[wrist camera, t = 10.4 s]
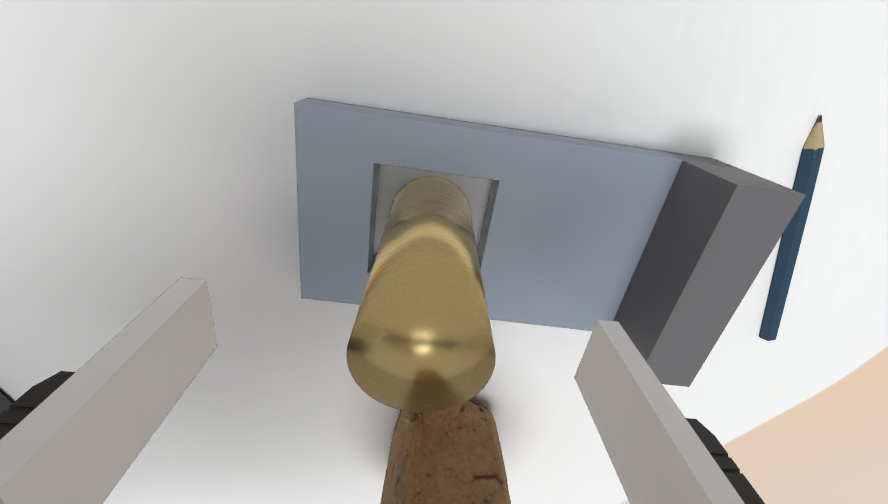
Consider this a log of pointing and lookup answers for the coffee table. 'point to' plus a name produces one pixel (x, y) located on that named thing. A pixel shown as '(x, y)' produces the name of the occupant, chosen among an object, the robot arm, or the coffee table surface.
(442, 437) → the block
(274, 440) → the coffee table surface
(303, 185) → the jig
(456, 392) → the brass cylinder rod
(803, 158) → the pencil
